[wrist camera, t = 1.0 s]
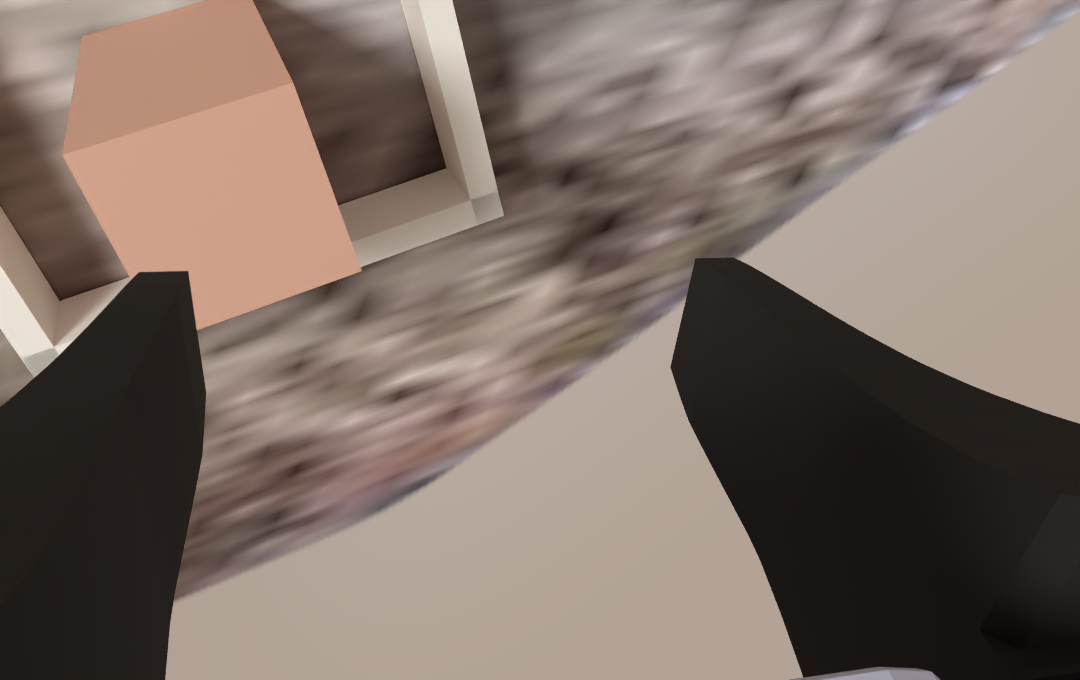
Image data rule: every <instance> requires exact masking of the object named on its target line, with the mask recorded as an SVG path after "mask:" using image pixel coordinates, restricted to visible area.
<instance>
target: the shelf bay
mask: <svg viewBox="0 0 1080 680" xmlns="http://www.w3.org/2000/svg"><path fill="white" fill-rule="evenodd" d="M401 4H402V8H403V11H404V15H405V19H406V22H407V26H408V30H409V33H410V37H411V41H412V44H413V48H414V52H415V55H416V59H417V63H418V66H419V70H420V73H421V77H422V81H423V84H424V88H425V92H426V95H427V99H428V103H429V106H430V110H431V114H432V117H433V121H434V125H435V128H436V132H437V135H438V139H439V143H440V146H441V150H442V154H443V157H444V161H445V165H446V169H443V170H440V171H437V172H434V173H431V174H428V175H425V176H422V177H419V178H417V179H414V180H411V181H408V182H405V183H402V184H399V185H396V186H393V187H390V188H387V189H384V190H382V191H379V192H376V193H373V194H370V195H367V196H364V197H361V198H358V199H355V200H352V201H350V202H347V203H344V204H341V205H338V207H339V210H340V212H341V215H342V218H343V220H344V223H345V226H346V229H347V231H348V234H349V237H350V240H351V242H352V245H353V248H354V251H355V253H356V256H357V259H358V262H359V264H360V267H362V266H365V265H368V264H371V263H374V262H376V261H379V260H382V259H385V258H388V257H390V256H393V255H396V254H399V253H402V252H404V251H407V250H410V249H413V248H415V247H418V246H421V245H424V244H427V243H429V242H432V241H435V240H438V239H441V238H443V237H446V236H449V235H452V234H455V233H457V232H460V231H463V230H466V229H468V228H471V227H474V226H477V225H480V224H482V223H485V222H488V221H491V220H494V219H496V218H499V217H502V216H504V214H503V210H502V206H501V202H500V198H499V193H498V189H497V185H496V181H495V177H494V172H493V168H492V164H491V160H490V156H489V152H488V147H487V143H486V139H485V135H484V131H483V127H482V122H481V118H480V114H479V110H478V106H477V102H476V97H475V93H474V89H473V85H472V81H471V77H470V72H469V68H468V64H467V60H466V56H465V51H464V47H463V43H462V39H461V35H460V31H459V26H458V22H457V18H456V14H455V10H454V6H453V1H452V0H401ZM130 280H131V278H130V277H128V278H125V279H122V280H119V281H117V282H114V283H111V284H108V285H105V286H102V287H99V288H96V289H93V290H90V291H87V292H84V293H82V294H79V295H76V296H73V297H70V298H67V299H64V300H61V301H59V299H58V298H57V296H56V294H55V293H54V291H53V290H52V288H51V286H50V285H49V283H48V282H47V280H46V278H45V277H44V275H43V274H42V272H41V270H40V269H39V267H38V266H37V264H36V262H35V261H34V259H33V258H32V256H31V254H30V253H29V251H28V250H27V248H26V246H25V245H24V243H23V242H22V240H21V238H20V237H19V235H18V234H17V232H16V230H15V229H14V227H13V226H12V224H11V222H10V221H9V219H8V218H7V216H6V214H5V213H4V211H3V210H2V208H1V206H0V329H1V330H2V332H3V333H4V335H5V336H6V338H7V339H8V340H9V342H10V343H11V345H12V346H13V348H14V349H15V351H16V352H17V353H18V355H19V356H20V358H21V359H22V361H23V362H24V364H25V365H26V367H27V368H28V369H29V371H30V372H31V374H32V375H33V377H34V378H35V377H36V376H37V375H38V374H39V373H40V372H42V371H43V370H44V369H45V368H46V367H47V366H48V365H49V364H50V363H51V362H52V361H54V360H55V359H56V358H57V357H58V356H59V355H60V354H61V353H62V352H63V351H64V350H65V349H66V348H67V347H68V346H69V345H70V344H71V343H72V342H73V341H74V340H75V339H76V338H77V337H78V336H79V335H80V334H81V333H82V331H83V330H84V329H85V328H86V327H87V326H88V325H89V324H90V323H91V322H92V321H93V320H94V319H95V318H96V317H97V316H98V315H99V314H100V313H101V311H102V310H103V309H104V308H105V307H106V306H107V305H108V304H109V303H110V302H111V301H112V300H113V298H114V297H115V296H116V295H117V294H118V293H119V292H120V291H121V290H122V289H123V288H124V286H125V285H126V284H127V283H128V282H129V281H130Z"/></svg>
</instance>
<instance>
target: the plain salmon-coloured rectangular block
mask: <svg viewBox="0 0 1080 680" xmlns="http://www.w3.org/2000/svg"><path fill="white" fill-rule="evenodd" d="M62 156H63V158H64V160H65V161H66V163H67V165H68V167H69V169H70V170H71V172H72V174H73V176H74V178H75V179H76V181H77V183H78V185H79V187H80V188H81V190H82V192H83V194H84V196H85V197H86V199H87V201H88V203H89V205H90V206H91V208H92V210H93V212H94V214H95V215H96V217H97V219H98V221H99V223H100V224H101V226H102V228H103V230H104V232H105V233H106V235H107V237H108V239H109V241H110V242H111V244H112V246H113V248H114V250H115V251H116V253H117V255H118V257H119V259H120V260H121V262H122V264H123V266H124V268H125V269H126V271H127V273H128V275H129V277H130V278H131V279H132V278H133V277H134V276H135V275H136V274H137V273H139V272H164V271H188V273H189V280H190V287H191V294H192V301H193V308H194V314H195V321H196V328H197V330H199V329H202V328H205V327H208V326H210V325H213V324H216V323H219V322H221V321H224V320H227V319H230V318H233V317H235V316H238V315H241V314H244V313H247V312H249V311H252V310H255V309H258V308H260V307H263V306H266V305H269V304H272V303H274V302H277V301H280V300H283V299H285V298H288V297H291V296H294V295H297V294H299V293H302V292H305V291H308V290H311V289H313V288H316V287H319V286H322V285H324V284H327V283H330V282H333V281H336V280H338V279H341V278H344V277H347V276H350V275H352V274H355V273H358V272H361V271H362V270H361V267H360V264H359V262H358V259H357V256H356V253H355V251H354V248H353V245H352V242H351V240H350V237H349V234H348V231H347V229H346V226H345V223H344V220H343V218H342V215H341V212H340V210H339V207H338V204H337V201H336V199H335V196H334V193H333V190H332V188H331V185H330V182H329V179H328V177H327V174H326V171H325V168H324V166H323V163H322V160H321V158H320V155H319V152H318V149H317V147H316V144H315V141H314V138H313V136H312V133H311V130H310V127H309V125H308V122H307V119H306V116H305V114H304V111H303V108H302V105H301V103H300V100H299V97H298V95H297V92H296V89H295V86H294V84H293V81H292V79H291V77H290V75H289V73H288V71H287V69H286V67H285V65H284V63H283V61H282V59H281V57H280V55H279V53H278V51H277V49H276V47H275V45H274V43H273V41H272V39H271V37H270V35H269V33H268V31H267V28H266V26H265V24H264V22H263V20H262V18H261V16H260V14H259V12H258V10H257V8H256V6H255V4H254V2H253V0H206V1H202V2H199V3H195V4H192V5H188V6H185V7H181V8H178V9H175V10H171V11H168V12H164V13H161V14H157V15H154V16H150V17H147V18H144V19H140V20H137V21H133V22H130V23H126V24H123V25H119V26H116V27H113V28H109V29H106V30H102V31H99V32H95V33H92V34H88V35H85V36H82V40H81V46H80V52H79V58H78V64H77V70H76V76H75V81H74V87H73V93H72V99H71V105H70V111H69V117H68V123H67V129H66V135H65V141H64V147H63V152H62Z"/></svg>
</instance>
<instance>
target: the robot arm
mask: <svg viewBox="0 0 1080 680" xmlns="http://www.w3.org/2000/svg"><path fill="white" fill-rule="evenodd" d="M671 370H672V373H673V376H674V379H675V382H676V385H677V389H678V392H679V395H680V398H681V401H682V403H683V406H684V409H685V412H686V414H687V417H688V420H689V422H690V424H691V426H692V428H693V430H694V432H695V434H696V436H697V438H698V440H699V442H700V444H701V446H702V448H703V450H704V452H705V454H706V456H707V457H708V459H709V461H710V463H711V465H712V467H713V469H714V471H715V473H716V475H717V477H718V478H719V480H720V482H721V484H722V486H723V488H724V490H725V492H726V494H727V495H728V497H729V499H730V501H731V503H732V505H733V507H734V509H735V511H736V512H737V514H738V516H739V518H740V520H741V522H742V524H743V526H744V528H745V529H746V531H747V533H748V535H749V537H750V539H751V542H752V544H753V546H754V548H755V550H756V552H757V554H758V556H759V559H760V561H761V563H762V566H763V569H764V571H765V574H766V576H767V579H768V581H769V584H770V587H771V589H772V592H773V594H774V597H775V600H776V602H777V605H778V607H779V610H780V612H781V615H782V618H783V621H784V624H785V626H786V629H787V632H788V635H789V638H790V641H791V643H792V646H793V649H794V652H795V655H796V657H797V660H798V663H799V666H800V669H801V672H802V675H803V678H798V679H792V680H1080V424H1078V423H1075V422H1072V421H1069V420H1065V419H1062V418H1059V417H1056V416H1052V415H1050V414H1046V413H1043V412H1041V411H1038V410H1035V409H1032V408H1029V407H1027V406H1024V405H1021V404H1018V403H1015V402H1013V401H1010V400H1007V399H1005V398H1002V397H999V396H996V395H993V394H991V393H989V392H986V391H984V390H981V389H979V388H976V387H973V386H971V385H969V384H966V383H964V382H962V381H960V380H957V379H955V378H953V377H951V376H948V375H946V374H944V373H942V372H939V371H937V370H935V369H933V368H931V367H928V366H926V365H924V364H922V363H920V362H918V361H916V360H913V359H912V358H909V357H908V356H906V355H904V354H902V353H900V352H898V351H896V350H894V349H892V348H890V347H889V346H887V345H885V344H883V343H881V342H879V341H877V340H876V339H874V338H872V337H870V336H868V335H866V334H865V333H863V332H861V331H859V330H857V329H856V328H854V327H852V326H850V325H848V324H847V323H845V322H844V321H842V320H840V319H838V318H837V317H835V316H833V315H832V314H830V313H828V312H827V311H825V310H823V309H822V308H820V307H818V306H817V305H815V304H813V303H812V302H810V301H809V300H807V299H805V298H803V297H802V296H800V295H799V294H797V293H795V292H794V291H792V290H790V289H789V288H787V287H786V286H784V285H782V284H780V283H779V282H777V281H775V280H774V279H772V278H770V277H769V276H767V275H765V274H764V273H762V272H760V271H758V270H757V269H755V268H753V267H751V266H749V265H747V264H746V263H743V262H741V261H739V260H737V259H735V258H696V259H695V263H694V267H693V272H692V276H691V280H690V285H689V289H688V293H687V298H686V302H685V307H684V311H683V315H682V320H681V324H680V328H679V333H678V337H677V342H676V346H675V350H674V354H673V359H672V363H671ZM205 401H206V389H205V383H204V376H203V369H202V362H201V355H200V348H199V342H198V335H197V328H196V321H195V314H194V308H193V301H192V294H191V287H190V280H189V273H188V271H164V272H139V273H137V274H136V275H135V276H134V277H133V278H132V279H131V280H130V281H129V282H128V283H127V284H126V285H125V286H124V288H123V289H122V290H121V291H120V292H119V293H118V294H117V295H116V296H115V297H114V298H113V300H112V301H111V302H110V303H109V304H108V305H107V306H106V307H105V308H104V309H103V310H102V311H101V313H100V314H99V315H98V316H97V317H96V318H95V319H94V320H93V321H92V322H91V323H90V324H89V325H88V326H87V327H86V328H85V329H84V330H83V331H82V333H81V334H80V335H79V336H78V337H77V338H76V339H75V340H74V341H73V342H72V343H71V344H70V345H69V346H68V347H67V348H66V349H65V350H64V351H63V352H62V353H61V354H60V355H59V356H58V357H57V358H56V359H55V360H54V361H52V362H51V363H50V364H49V365H48V366H47V367H46V368H45V369H44V370H43V371H42V372H40V373H39V374H38V375H37V376H36V377H35V378H34V379H33V380H31V381H30V382H29V383H28V384H27V385H26V386H25V387H24V388H23V389H21V390H20V391H19V392H18V393H17V394H16V395H15V396H14V397H12V398H11V399H10V400H9V401H7V402H6V403H5V404H4V405H2V406H1V407H0V680H165V674H166V662H167V651H168V639H169V628H170V619H171V613H172V606H173V600H174V593H175V588H176V583H177V578H178V573H179V569H180V564H181V559H182V554H183V549H184V544H185V539H186V534H187V529H188V524H189V519H190V515H191V510H192V505H193V500H194V495H195V490H196V484H197V479H198V474H199V469H200V464H201V459H202V451H203V436H204V420H205Z"/></svg>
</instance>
